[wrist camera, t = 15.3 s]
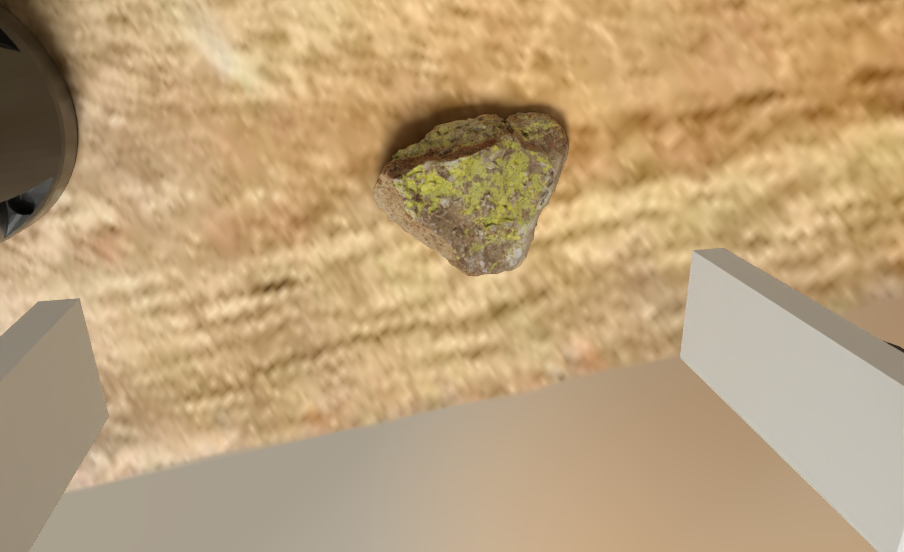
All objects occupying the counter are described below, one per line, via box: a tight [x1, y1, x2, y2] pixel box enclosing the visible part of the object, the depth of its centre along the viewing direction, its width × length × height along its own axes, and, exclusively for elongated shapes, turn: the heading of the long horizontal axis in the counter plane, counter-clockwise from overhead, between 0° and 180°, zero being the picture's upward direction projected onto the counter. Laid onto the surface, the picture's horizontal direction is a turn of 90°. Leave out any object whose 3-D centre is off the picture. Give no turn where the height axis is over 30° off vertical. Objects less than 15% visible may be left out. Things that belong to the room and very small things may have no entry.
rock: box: [373, 112, 569, 276], centre depth 42 cm, size 12×7×10 cm
